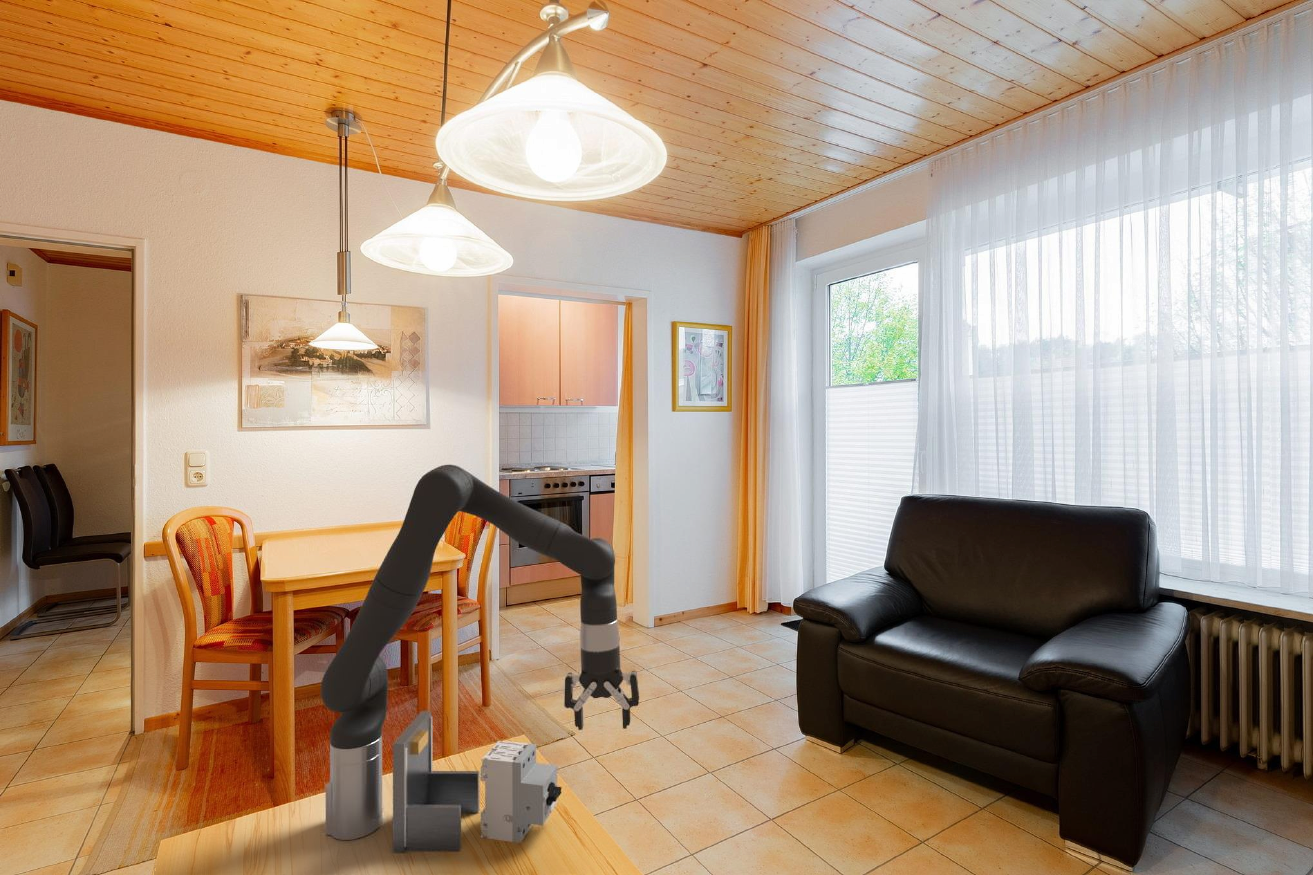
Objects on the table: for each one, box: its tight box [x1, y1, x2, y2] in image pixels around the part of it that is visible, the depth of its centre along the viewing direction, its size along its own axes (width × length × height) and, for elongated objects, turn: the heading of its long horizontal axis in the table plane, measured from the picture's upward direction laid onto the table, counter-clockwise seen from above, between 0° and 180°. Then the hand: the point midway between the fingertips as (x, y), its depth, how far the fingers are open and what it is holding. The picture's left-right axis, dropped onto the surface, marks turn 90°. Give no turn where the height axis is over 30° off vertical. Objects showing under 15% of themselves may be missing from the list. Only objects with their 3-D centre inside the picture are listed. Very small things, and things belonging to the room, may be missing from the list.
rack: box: [392, 710, 480, 854], centre depth 124 cm, size 12×14×20 cm
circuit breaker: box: [480, 740, 562, 843], centre depth 124 cm, size 8×14×15 cm, turn 78°
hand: (603, 727), depth 124 cm, fingers open, 8 cm apart
